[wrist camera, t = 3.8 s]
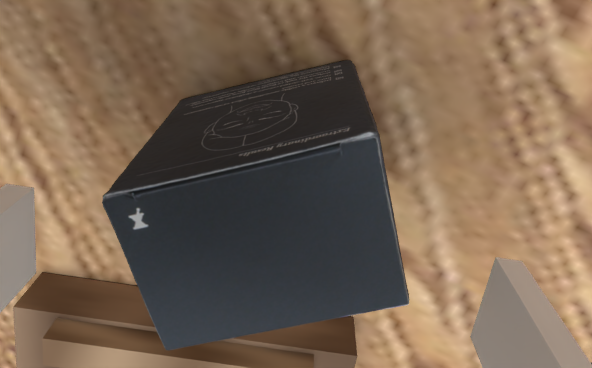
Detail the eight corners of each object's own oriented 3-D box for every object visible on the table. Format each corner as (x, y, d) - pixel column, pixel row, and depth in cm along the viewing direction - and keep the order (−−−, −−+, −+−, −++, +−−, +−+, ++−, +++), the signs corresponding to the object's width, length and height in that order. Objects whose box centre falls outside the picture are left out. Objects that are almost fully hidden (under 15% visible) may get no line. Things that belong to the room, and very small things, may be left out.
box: (216, 210, 27) (160, 357, 17) (179, 97, 25) (92, 192, 15) (378, 176, 26) (415, 311, 16) (354, 55, 24) (379, 129, 14)
